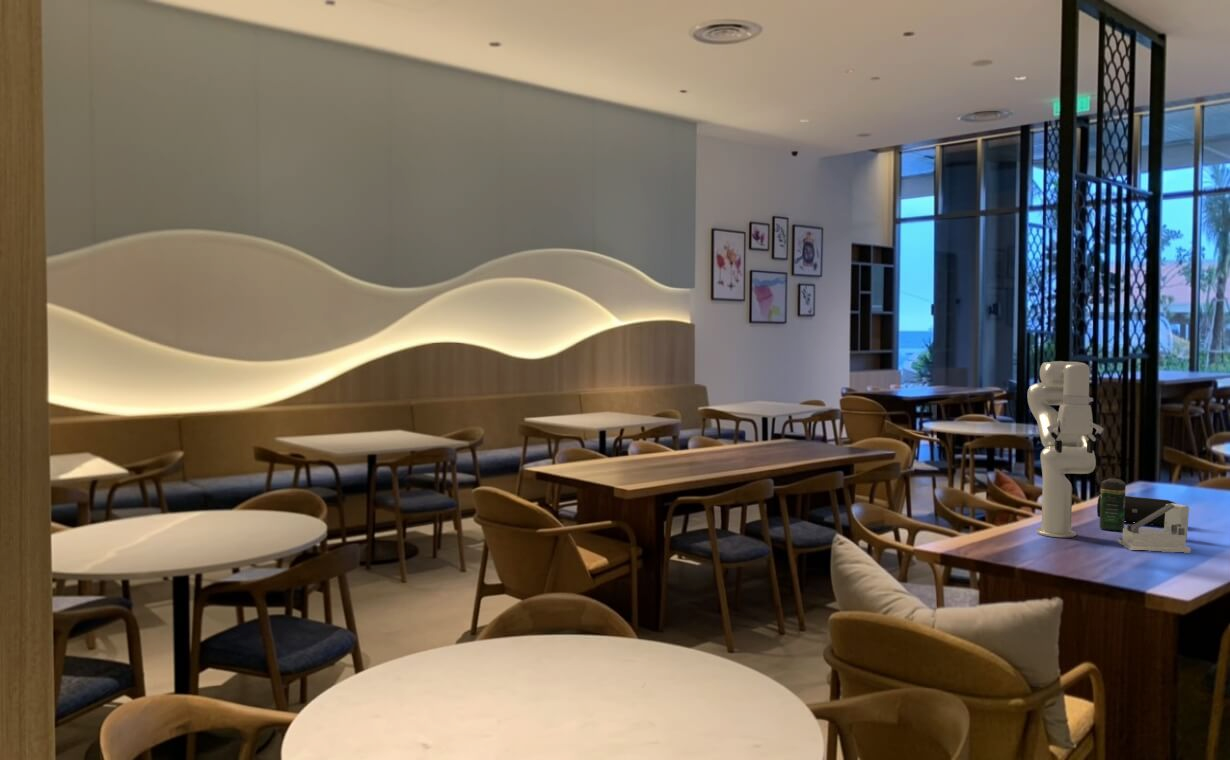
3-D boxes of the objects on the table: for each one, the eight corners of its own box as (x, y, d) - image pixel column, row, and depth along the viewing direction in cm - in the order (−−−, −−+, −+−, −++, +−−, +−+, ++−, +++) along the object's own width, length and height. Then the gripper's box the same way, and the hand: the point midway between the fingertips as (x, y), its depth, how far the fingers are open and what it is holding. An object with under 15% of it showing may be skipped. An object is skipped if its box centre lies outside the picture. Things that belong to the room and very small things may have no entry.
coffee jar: (1122, 532, 327) (1124, 481, 326) (1098, 530, 332) (1099, 479, 331) (1125, 528, 335) (1127, 478, 334) (1101, 525, 340) (1103, 476, 339)
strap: (1130, 529, 306) (1128, 526, 306) (1171, 505, 303) (1169, 502, 303) (1133, 531, 303) (1132, 528, 303) (1175, 507, 300) (1173, 504, 300)
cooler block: (1117, 542, 311) (1118, 520, 311) (1175, 545, 308) (1175, 523, 307) (1130, 550, 299) (1131, 528, 299) (1190, 553, 296) (1191, 530, 295)
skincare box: (1162, 538, 318) (1164, 503, 318) (1170, 536, 320) (1171, 502, 320) (1180, 541, 313) (1181, 506, 312) (1188, 540, 315) (1189, 505, 314)
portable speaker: (1096, 521, 348) (1097, 495, 348) (1100, 517, 356) (1101, 492, 356) (1173, 529, 333) (1174, 502, 333) (1176, 525, 341) (1177, 499, 340)
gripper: (1099, 400, 302) (1097, 451, 303) (1044, 399, 304) (1042, 450, 305) (1108, 402, 294) (1106, 454, 295) (1052, 401, 297) (1050, 453, 297)
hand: (1074, 452), depth 300 cm, fingers open, 9 cm apart
